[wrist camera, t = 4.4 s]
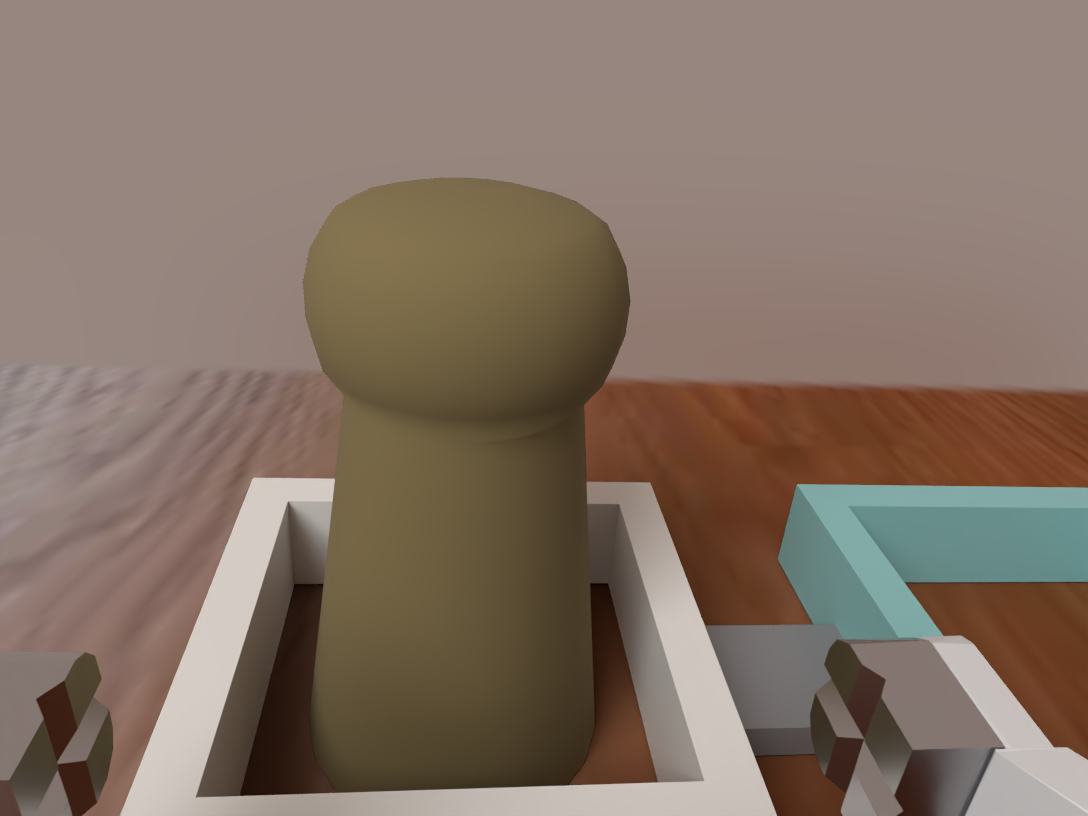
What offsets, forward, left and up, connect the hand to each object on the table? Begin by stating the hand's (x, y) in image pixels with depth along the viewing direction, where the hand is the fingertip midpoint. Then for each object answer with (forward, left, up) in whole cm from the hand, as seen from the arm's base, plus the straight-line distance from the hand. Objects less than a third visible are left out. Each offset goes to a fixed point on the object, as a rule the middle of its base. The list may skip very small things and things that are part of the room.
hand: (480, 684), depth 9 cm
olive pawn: (0, -6, -7) cm, 9 cm away
